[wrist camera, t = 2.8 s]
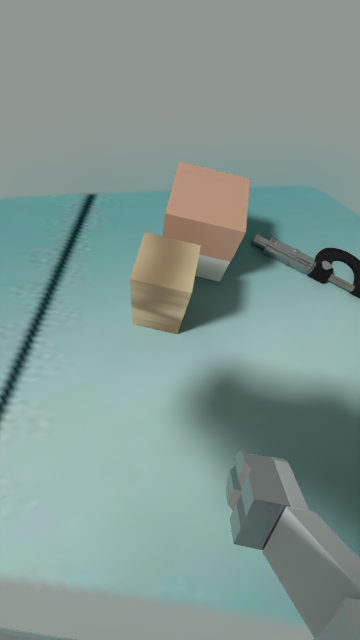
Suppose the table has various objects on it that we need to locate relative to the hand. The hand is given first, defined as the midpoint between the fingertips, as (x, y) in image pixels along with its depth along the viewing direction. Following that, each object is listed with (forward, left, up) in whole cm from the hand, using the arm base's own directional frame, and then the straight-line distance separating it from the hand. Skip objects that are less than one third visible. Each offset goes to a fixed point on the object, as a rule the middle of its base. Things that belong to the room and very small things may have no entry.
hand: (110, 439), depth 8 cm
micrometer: (-10, -28, -15) cm, 33 cm away
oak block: (+3, -12, -15) cm, 19 cm away
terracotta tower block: (+3, -21, -11) cm, 24 cm away
